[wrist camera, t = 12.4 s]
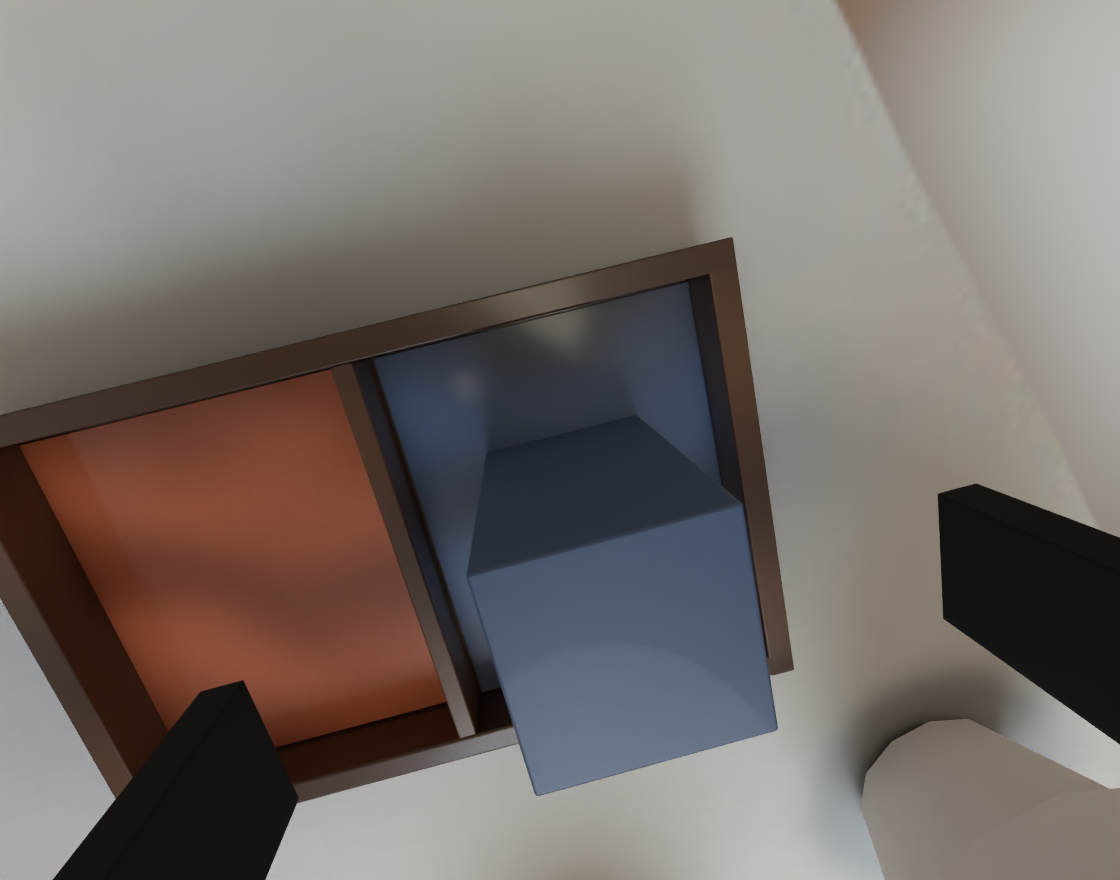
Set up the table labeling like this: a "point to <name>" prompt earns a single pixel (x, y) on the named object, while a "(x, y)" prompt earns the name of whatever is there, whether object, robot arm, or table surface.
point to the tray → (349, 513)
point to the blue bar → (616, 604)
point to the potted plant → (986, 810)
